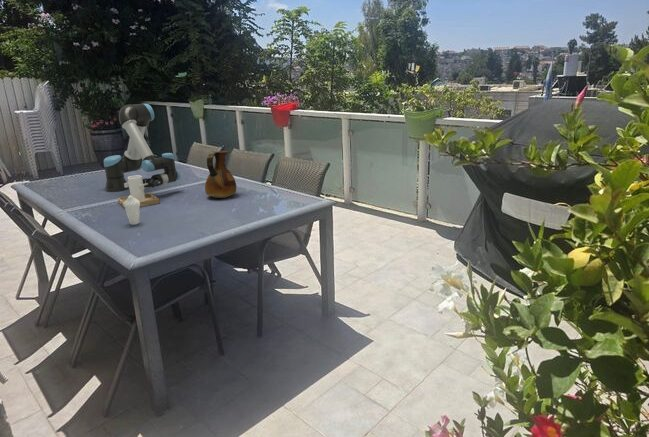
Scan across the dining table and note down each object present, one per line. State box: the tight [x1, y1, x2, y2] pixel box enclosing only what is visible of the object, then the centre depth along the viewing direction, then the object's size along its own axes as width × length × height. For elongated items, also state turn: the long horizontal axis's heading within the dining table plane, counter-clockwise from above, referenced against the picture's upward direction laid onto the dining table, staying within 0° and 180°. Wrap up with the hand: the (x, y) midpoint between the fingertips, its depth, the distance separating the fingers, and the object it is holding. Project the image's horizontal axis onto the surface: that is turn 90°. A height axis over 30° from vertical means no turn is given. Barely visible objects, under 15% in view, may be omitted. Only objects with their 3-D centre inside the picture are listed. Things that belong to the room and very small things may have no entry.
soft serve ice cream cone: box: [123, 194, 141, 226], centre depth 244 cm, size 8×8×16 cm
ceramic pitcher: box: [204, 150, 237, 199], centre depth 292 cm, size 20×20×30 cm
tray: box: [117, 192, 161, 209], centre depth 286 cm, size 20×20×3 cm
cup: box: [127, 174, 146, 202], centre depth 283 cm, size 8×8×16 cm
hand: (131, 186), depth 280 cm, fingers open, 13 cm apart
